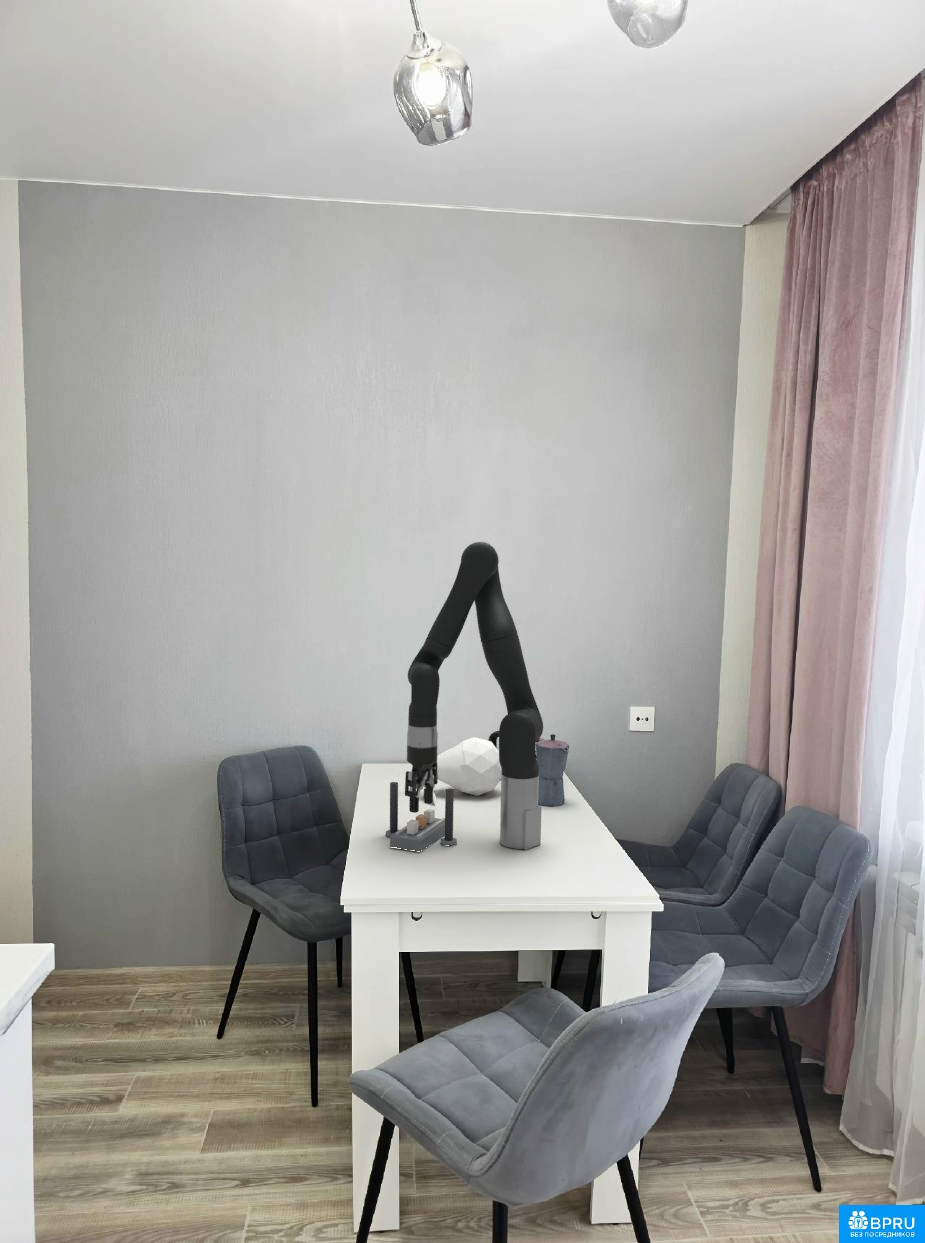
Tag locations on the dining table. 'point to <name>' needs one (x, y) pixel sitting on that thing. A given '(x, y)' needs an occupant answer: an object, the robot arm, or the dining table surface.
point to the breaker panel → (419, 836)
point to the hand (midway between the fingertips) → (421, 807)
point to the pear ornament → (470, 767)
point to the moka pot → (551, 770)
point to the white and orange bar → (420, 821)
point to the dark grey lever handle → (393, 809)
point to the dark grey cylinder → (449, 819)
